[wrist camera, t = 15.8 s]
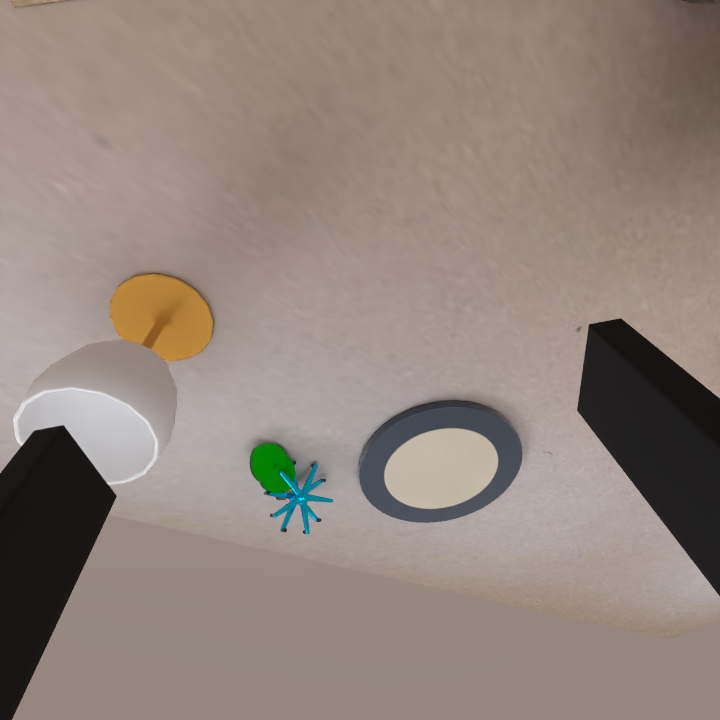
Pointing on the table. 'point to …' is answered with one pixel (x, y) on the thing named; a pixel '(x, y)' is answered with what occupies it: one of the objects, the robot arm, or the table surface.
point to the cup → (123, 379)
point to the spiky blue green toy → (284, 482)
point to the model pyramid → (30, 2)
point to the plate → (439, 461)
